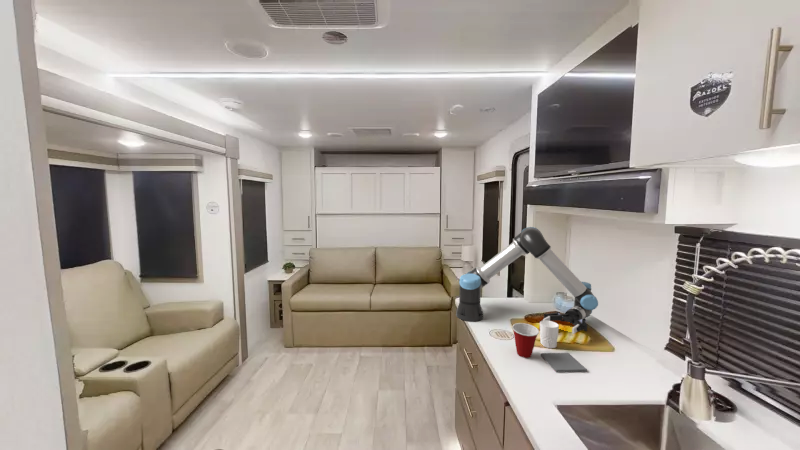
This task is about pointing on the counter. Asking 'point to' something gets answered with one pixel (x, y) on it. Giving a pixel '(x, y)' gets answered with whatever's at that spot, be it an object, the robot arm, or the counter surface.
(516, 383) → the counter surface
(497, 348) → the counter surface
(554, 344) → the white cup
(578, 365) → the charcoal mat
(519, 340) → the plastic cup
